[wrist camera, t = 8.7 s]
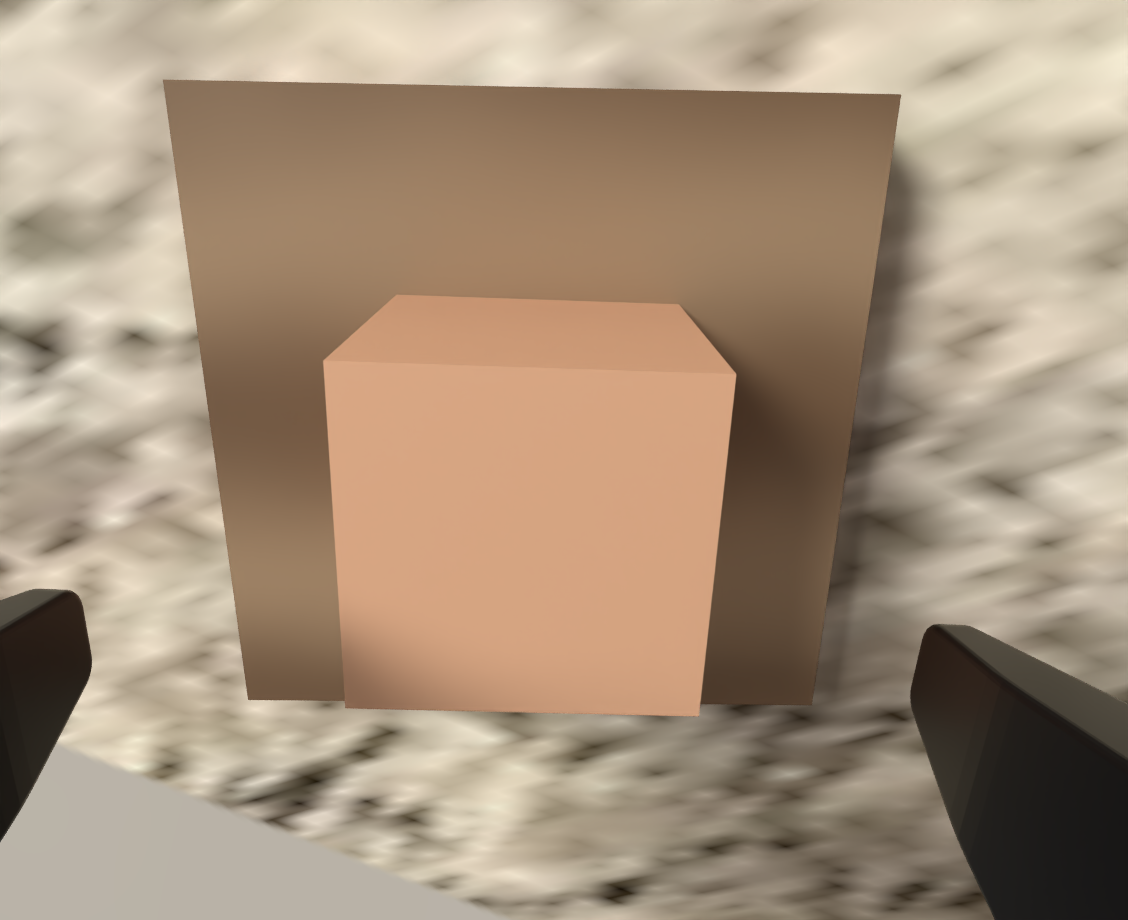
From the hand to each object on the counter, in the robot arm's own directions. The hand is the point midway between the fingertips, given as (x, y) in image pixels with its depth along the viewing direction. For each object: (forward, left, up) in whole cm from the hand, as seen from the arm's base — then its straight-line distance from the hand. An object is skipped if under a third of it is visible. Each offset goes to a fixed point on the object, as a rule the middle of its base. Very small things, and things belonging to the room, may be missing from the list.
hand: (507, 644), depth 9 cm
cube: (0, 0, -7) cm, 7 cm away
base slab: (0, 0, -10) cm, 10 cm away
